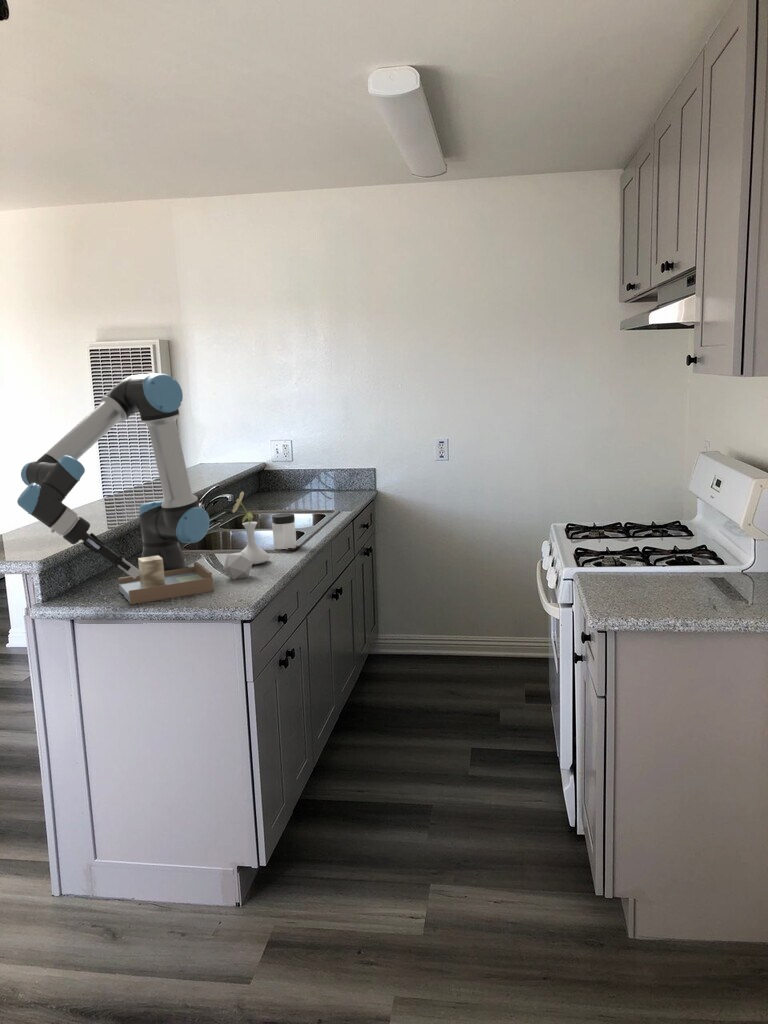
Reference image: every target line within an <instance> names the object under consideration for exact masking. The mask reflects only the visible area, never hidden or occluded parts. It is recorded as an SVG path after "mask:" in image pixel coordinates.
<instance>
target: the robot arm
mask: <svg viewBox="0 0 768 1024" xmlns="http://www.w3.org/2000/svg"><path fill="white" fill-rule="evenodd" d="M183 395H184V394H183V389H182V386H181V385H180V384H179V382H178V380H176V378H174V377H173V376H171V375H169V374H166V373H159V372H155V373H142V374H133V375H130V376H128V377H125V378H123V380H121V381H119V382H118V383H117V384H116V385H114V386H113V387H112V388H111V389H110V390H109V391H108V392H106V394H105V395H103V396H102V397H101V399H100V404H98V405H97V406H96V407H95V408H94V409H93V410H92V411H91V412H90V413H88V415H87V416H85V417H84V418H82V420H81V421H79V423H77V424H76V425H75V426H74V427H73V428H72V429H70V431H69V432H67V433H66V434H64V436H63V437H62V438H61V439H60V440H59V441H57V442H56V443H55V444H54V445H53V446H52V447H51V448H50V449H49V450H47V452H45V453H44V454H43V455H42V456H40V457H39V458H38V459H37V460H36V461H31V462H28V463H26V464H25V465H23V467H22V469H21V471H20V478H21V481H22V482H23V483H24V484H25V485H26V486H27V487H26V488H25V489H24V490H23V491H22V492H21V493H20V495H19V497H18V498H17V502H16V503H17V505H18V506H19V507H20V508H22V509H23V510H24V511H25V512H26V513H27V514H29V515H31V516H32V517H33V518H35V519H37V520H38V521H39V522H41V523H42V524H44V525H45V526H46V527H48V528H49V529H51V530H50V532H51V534H55V532H56V534H58V535H59V536H62V538H63V540H65V541H67V542H68V543H70V544H71V545H76V544H78V543H79V542H80V541H81V540H82V541H83V542H82V545H84V546H85V548H87V549H90V550H92V551H93V552H94V553H96V554H98V555H101V556H102V557H104V558H105V559H106V560H108V561H109V562H111V563H112V564H113V567H114V568H115V569H116V568H119V569H120V570H122V571H123V572H125V573H126V574H127V575H128V576H129V577H130V576H131V577H133V578H134V579H135V578H136V577H137V576H138V575H140V574H139V573H140V572H141V571H140V570H139V568H137V567H136V566H134V565H133V564H131V562H129V561H127V560H126V559H125V558H123V556H124V555H123V554H121V553H120V554H118V553H116V552H115V551H114V550H112V549H110V548H109V547H108V546H107V545H106V544H105V542H103V540H101V539H100V538H98V536H96V535H95V533H93V532H91V533H90V534H89V533H88V531H89V530H90V528H91V523H90V522H89V521H88V520H86V519H85V518H83V517H81V516H79V514H78V513H77V512H75V511H74V510H72V509H71V508H70V507H69V506H67V505H66V504H64V503H63V501H64V500H65V499H66V497H68V495H69V493H70V492H71V491H72V490H73V489H74V487H75V486H76V485H77V484H78V483H79V482H80V480H81V479H82V477H83V476H84V474H85V473H86V469H85V467H84V465H83V464H82V463H81V462H80V461H79V460H78V459H80V458H81V457H82V456H83V455H84V454H85V453H86V452H87V451H88V450H89V449H90V448H92V447H93V446H94V445H95V444H96V443H97V442H98V441H99V440H100V439H102V438H103V436H105V435H106V434H107V433H108V432H109V431H110V430H111V429H112V428H114V426H116V425H117V424H118V422H125V421H126V420H128V418H129V417H131V416H133V415H135V414H137V413H139V416H140V417H139V418H140V419H141V420H140V421H141V422H142V423H143V424H145V425H146V426H147V428H148V432H149V437H150V441H151V445H152V449H153V455H154V459H155V463H156V468H157V471H158V475H159V477H158V478H159V480H160V484H161V489H162V494H163V498H164V499H162V500H157V501H156V500H155V501H150V502H145V503H142V504H140V505H139V515H138V516H139V520H140V521H139V522H140V530H141V539H142V541H141V542H142V552H141V557H140V558H143V557H151V556H158V555H159V556H160V557H161V558H162V559H163V566H164V571H169V570H176V569H182V568H187V566H188V565H187V559H186V558H185V555H184V553H183V551H182V548H181V545H180V543H182V544H194V543H199V542H200V541H201V540H203V538H204V537H206V534H207V532H208V531H209V529H210V523H211V521H210V516H209V513H208V511H207V510H205V509H204V508H203V507H200V504H199V498H198V496H197V495H194V493H192V489H191V485H190V483H191V482H190V479H189V475H188V471H187V466H186V461H185V457H184V453H183V448H182V443H181V439H180V434H179V429H178V425H177V418H178V417H179V416H180V411H179V408H180V407H181V405H182V404H181V403H182V402H183Z"/></svg>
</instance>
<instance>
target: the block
mask: <svg viewBox="0 0 768 1024" xmlns="http://www.w3.org/2000/svg"><path fill="white" fill-rule="evenodd" d="M137 559H138V570H140V571H141V572H140V573H139V575H140V584H141V585H142V586H143V587H144V588H148V587H154V586H160V585H165V577H164V566H163V559H162V558H161V557H160V556H159V555H158V556H151V557H143V558H141V557H138V558H137Z"/></svg>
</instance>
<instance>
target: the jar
mask: <svg viewBox="0 0 768 1024" xmlns="http://www.w3.org/2000/svg"><path fill="white" fill-rule="evenodd" d="M295 519H296V518H295V513H292V512H284V513H283V512H281V513H276V514H272V515H271V522H272V524H271V526H272V537H273V538H272V539H273V540H272V541H273V549H274V550H281V549H286V548H289V547H290V548H292V549H296V548H297V533H296V522H295ZM286 550H287V549H286Z"/></svg>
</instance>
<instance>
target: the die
mask: <svg viewBox="0 0 768 1024" xmlns="http://www.w3.org/2000/svg"><path fill="white" fill-rule="evenodd" d="M252 564H253V562H252V561H251V560H250V559H249V558H248V557H247V556H246V555H245V554H244V553H243V552H241V551H239V552H235V553H234V552H233V553H228V554H227V556H226V559H225V562H224V566H223V568H222V571H224V572H225V573H226V574H227V575H228V576H229V577H230V578H231V579H232V580H233V581H235V580H241V579H246V578H249V576H250V574H251V570H252V566H253V565H252Z"/></svg>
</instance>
